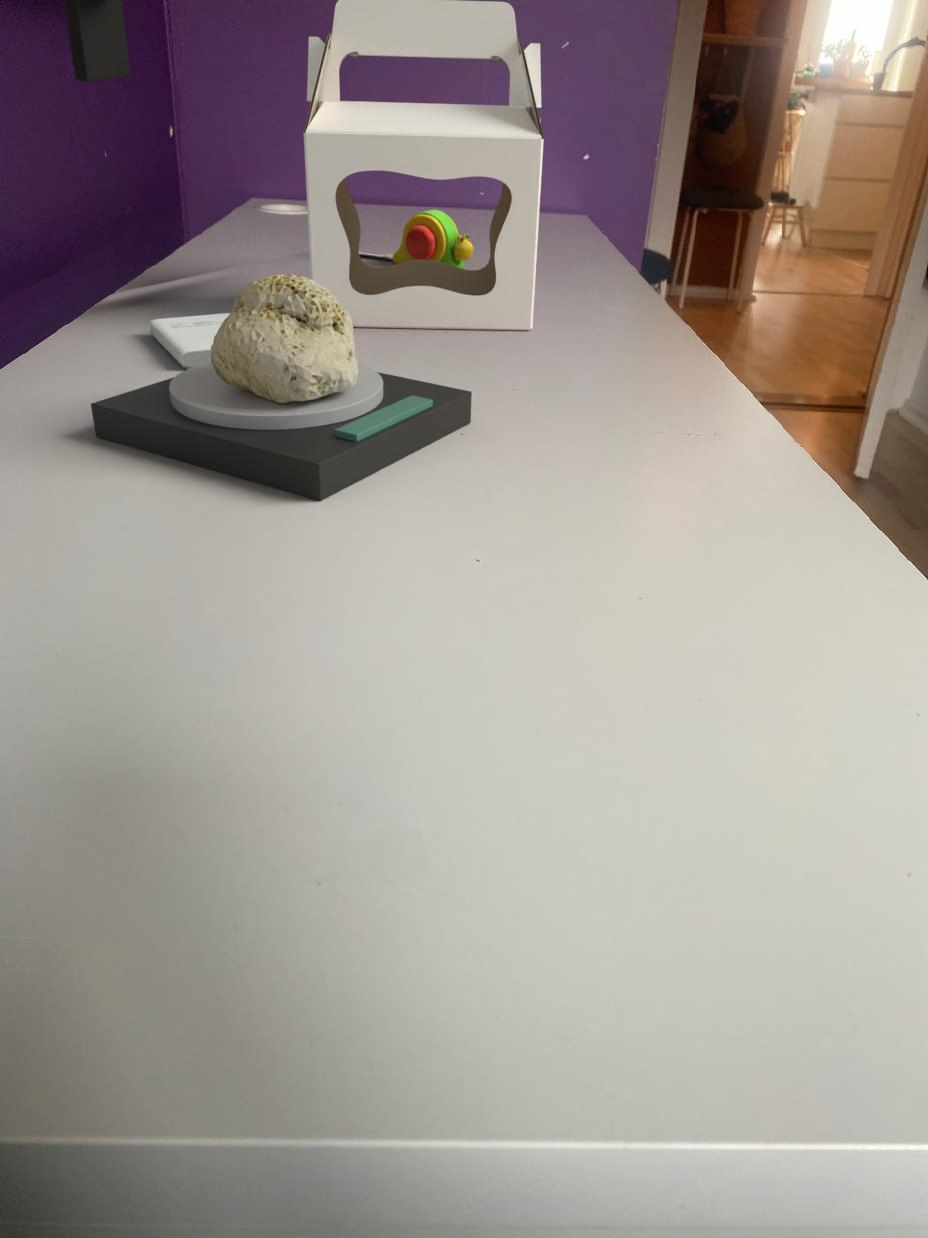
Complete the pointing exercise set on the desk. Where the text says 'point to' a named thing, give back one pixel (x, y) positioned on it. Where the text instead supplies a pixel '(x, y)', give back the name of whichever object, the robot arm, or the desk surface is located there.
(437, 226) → the toy measuring tape
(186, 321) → the hard drive
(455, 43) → the gable box
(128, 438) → the scale
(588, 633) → the desk surface
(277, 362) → the decorative item
